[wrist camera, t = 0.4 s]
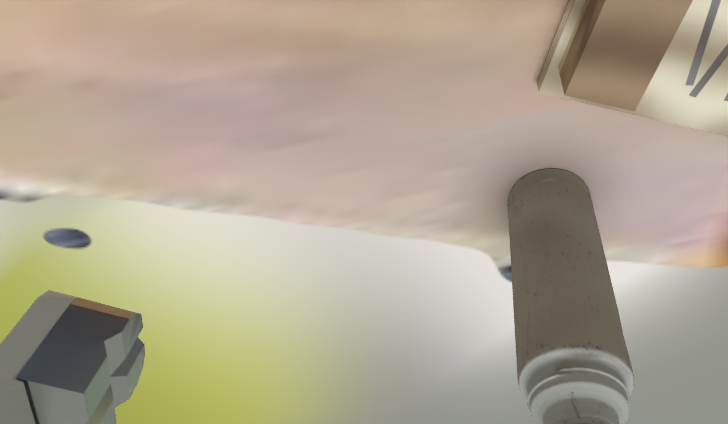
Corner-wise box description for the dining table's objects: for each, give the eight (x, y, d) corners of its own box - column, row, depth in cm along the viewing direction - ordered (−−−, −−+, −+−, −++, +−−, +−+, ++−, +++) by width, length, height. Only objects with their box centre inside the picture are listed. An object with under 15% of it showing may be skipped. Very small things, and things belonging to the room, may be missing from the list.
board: (603, -88, 45) (608, -82, 43) (856, -30, 44) (869, -21, 43) (537, 82, 53) (538, 92, 52) (747, 131, 53) (755, 143, 52)
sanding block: (603, -44, 45) (615, -23, 41) (676, -27, 45) (695, -5, 41) (558, 67, 50) (564, 95, 46) (622, 82, 50) (634, 111, 46)
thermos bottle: (588, 230, 62) (646, 494, 40) (509, 233, 64) (523, 487, 42) (591, 165, 58) (659, 423, 36) (506, 170, 59) (520, 419, 38)
